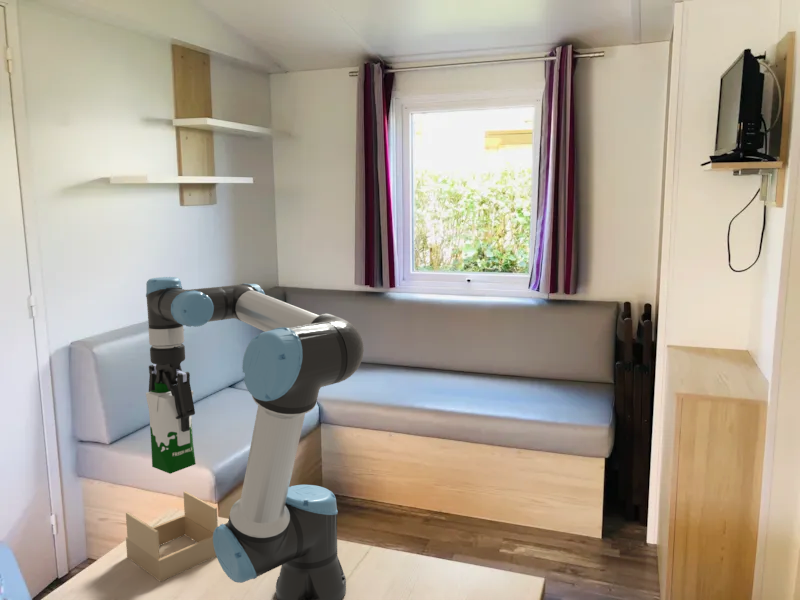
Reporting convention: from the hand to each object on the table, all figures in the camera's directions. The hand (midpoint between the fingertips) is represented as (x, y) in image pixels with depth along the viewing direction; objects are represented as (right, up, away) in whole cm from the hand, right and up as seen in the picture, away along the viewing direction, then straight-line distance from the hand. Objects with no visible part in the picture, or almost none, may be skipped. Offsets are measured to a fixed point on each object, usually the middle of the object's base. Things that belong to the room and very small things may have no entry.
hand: (172, 439), depth 152 cm
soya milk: (0, -7, +1) cm, 7 cm away
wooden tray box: (-1, -29, +4) cm, 29 cm away
